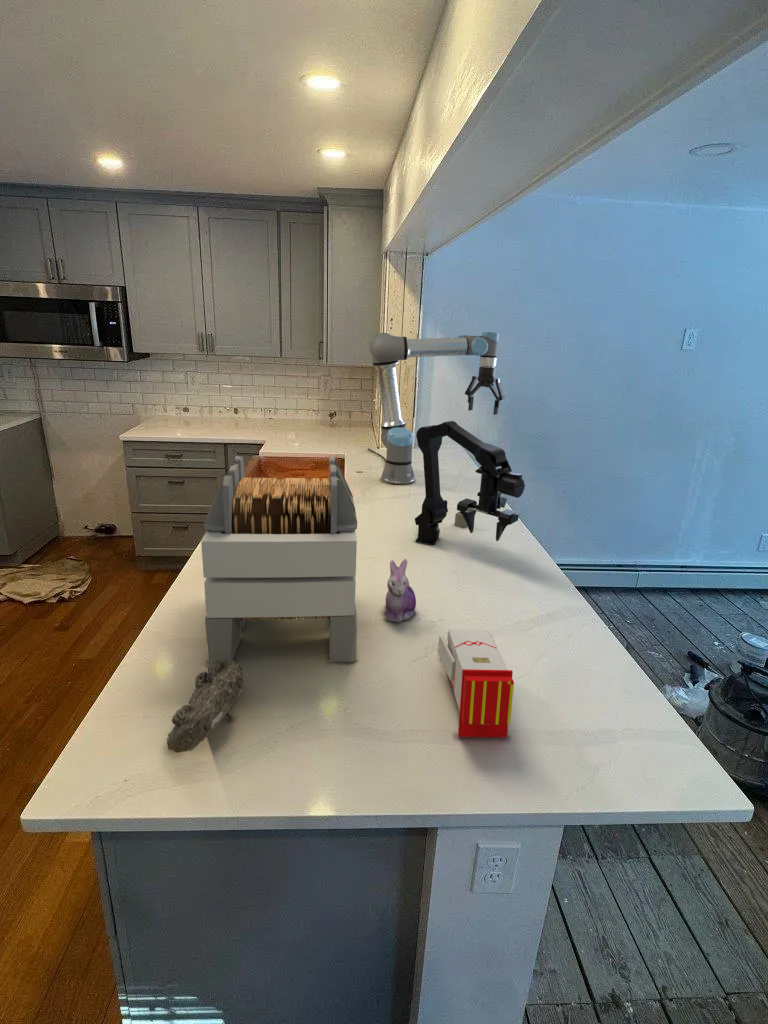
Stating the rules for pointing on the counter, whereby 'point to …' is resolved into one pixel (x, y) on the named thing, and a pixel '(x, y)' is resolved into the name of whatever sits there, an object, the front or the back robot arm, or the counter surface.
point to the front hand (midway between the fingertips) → (484, 536)
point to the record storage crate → (280, 557)
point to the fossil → (206, 705)
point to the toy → (478, 682)
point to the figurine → (399, 594)
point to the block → (460, 520)
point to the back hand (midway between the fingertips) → (482, 412)
